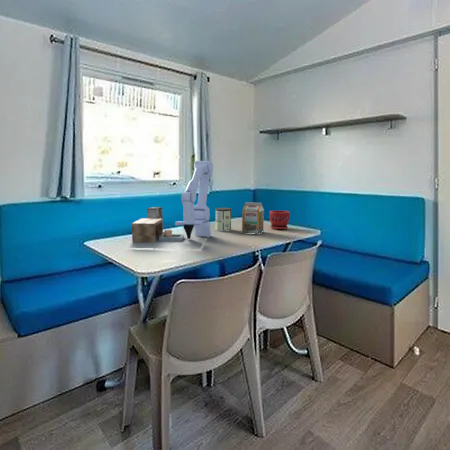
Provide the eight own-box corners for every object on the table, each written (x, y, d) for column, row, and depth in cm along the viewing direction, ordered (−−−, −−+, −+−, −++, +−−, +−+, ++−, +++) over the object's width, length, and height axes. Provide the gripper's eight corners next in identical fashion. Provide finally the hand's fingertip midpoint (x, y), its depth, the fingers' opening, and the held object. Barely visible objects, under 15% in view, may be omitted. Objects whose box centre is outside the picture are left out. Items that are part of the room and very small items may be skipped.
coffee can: (220, 228, 229) (221, 207, 227) (234, 229, 223) (234, 208, 221) (212, 230, 220) (212, 208, 218) (225, 232, 215) (225, 209, 213)
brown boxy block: (163, 237, 196) (162, 218, 194) (155, 244, 178) (154, 223, 177) (142, 237, 197) (141, 218, 195) (132, 243, 179) (131, 223, 177)
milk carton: (242, 233, 210) (242, 202, 207) (247, 230, 220) (248, 201, 217) (258, 234, 206) (259, 203, 203) (263, 232, 216) (264, 202, 213)
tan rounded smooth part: (172, 238, 189) (172, 229, 188) (171, 240, 185) (170, 230, 184) (165, 238, 189) (165, 229, 188) (163, 239, 185) (163, 230, 184)
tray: (184, 239, 191) (184, 234, 190) (181, 243, 182) (181, 237, 182) (163, 239, 192) (162, 233, 191) (159, 242, 183) (158, 237, 182)
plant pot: (290, 230, 221) (291, 212, 219) (270, 230, 221) (271, 212, 220) (287, 227, 234) (288, 209, 232) (268, 227, 234) (268, 209, 232)
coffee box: (153, 232, 211) (152, 206, 209) (163, 232, 210) (162, 207, 207) (147, 235, 202) (146, 208, 200) (157, 235, 201) (156, 208, 199)
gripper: (173, 214, 180) (174, 239, 182) (201, 214, 180) (201, 240, 182) (176, 212, 187) (176, 237, 189) (202, 213, 186) (202, 237, 189)
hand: (188, 238), depth 186 cm, fingers closed
